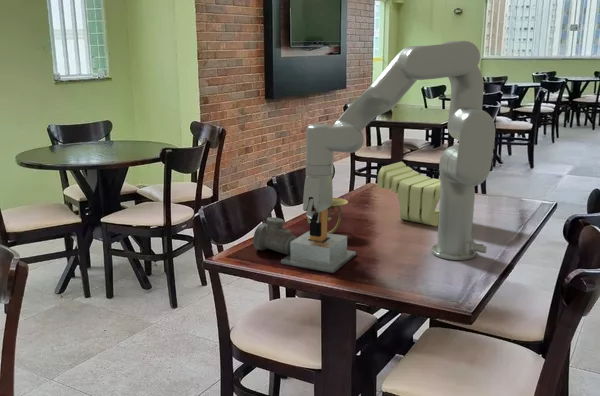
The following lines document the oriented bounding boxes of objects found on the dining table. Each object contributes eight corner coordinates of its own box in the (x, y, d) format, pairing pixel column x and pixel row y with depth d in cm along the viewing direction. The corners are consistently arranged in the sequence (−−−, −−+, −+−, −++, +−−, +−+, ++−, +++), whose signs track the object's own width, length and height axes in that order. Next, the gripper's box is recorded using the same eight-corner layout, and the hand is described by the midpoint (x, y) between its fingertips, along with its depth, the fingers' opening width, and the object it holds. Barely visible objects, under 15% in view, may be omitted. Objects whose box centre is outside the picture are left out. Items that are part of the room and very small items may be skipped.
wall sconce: (326, 242, 179) (327, 163, 173) (303, 236, 185) (303, 159, 179) (353, 232, 189) (354, 156, 183) (330, 227, 196) (331, 153, 189)
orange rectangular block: (315, 236, 166) (315, 202, 164) (327, 238, 165) (327, 204, 162) (310, 239, 163) (310, 205, 161) (321, 241, 162) (322, 206, 159)
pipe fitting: (249, 250, 171) (254, 217, 169) (264, 245, 178) (269, 213, 176) (284, 262, 165) (289, 228, 163) (298, 256, 172) (303, 223, 170)
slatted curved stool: (376, 216, 208) (377, 167, 203) (399, 207, 219) (401, 161, 215) (454, 233, 189) (457, 179, 184) (475, 222, 200) (479, 171, 196)
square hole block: (355, 254, 169) (356, 235, 167) (333, 272, 155) (333, 251, 153) (306, 246, 176) (306, 227, 174) (280, 263, 162) (280, 243, 161)
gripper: (320, 163, 168) (319, 224, 172) (293, 173, 154) (293, 239, 158) (343, 165, 164) (342, 227, 169) (318, 176, 150) (318, 244, 155)
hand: (318, 233), depth 163 cm, fingers closed on orange rectangular block, 3 cm apart
